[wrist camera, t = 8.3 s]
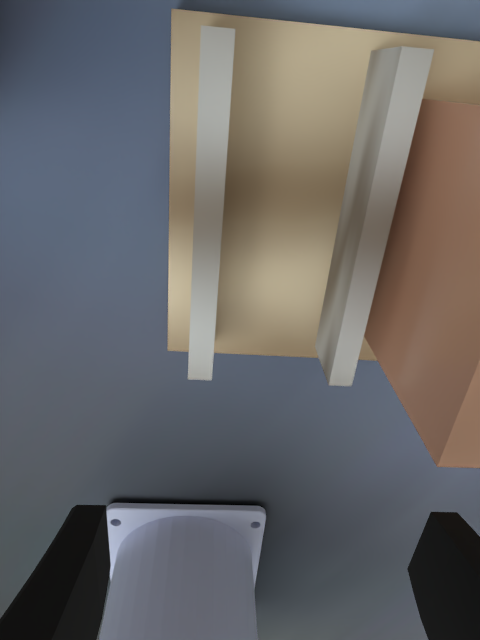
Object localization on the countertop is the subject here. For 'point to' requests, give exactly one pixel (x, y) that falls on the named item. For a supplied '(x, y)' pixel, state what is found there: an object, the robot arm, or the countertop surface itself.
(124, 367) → the countertop surface
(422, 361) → the upright peach slab
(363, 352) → the dish rack
